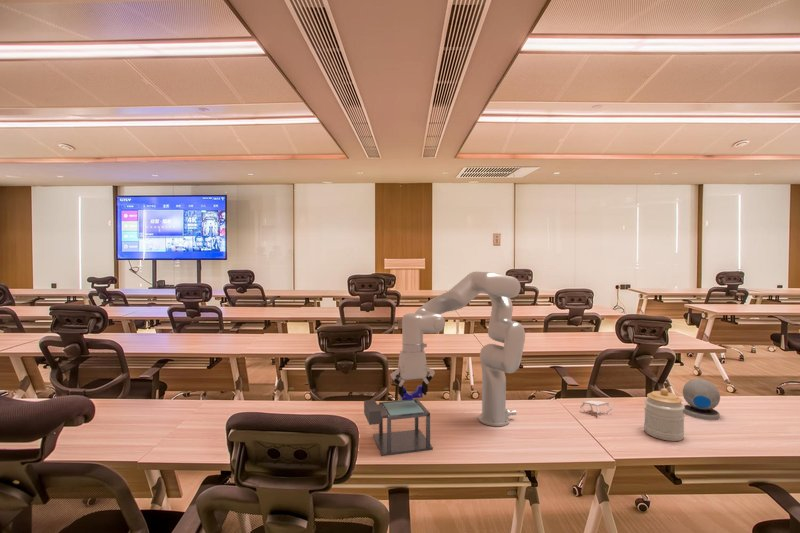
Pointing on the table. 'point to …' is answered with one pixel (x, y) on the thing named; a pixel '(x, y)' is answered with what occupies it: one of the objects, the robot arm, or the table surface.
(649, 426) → the jar
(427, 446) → the stand
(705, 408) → the webcam
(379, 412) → the trapdoor
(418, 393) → the cable holder
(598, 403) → the white legged frame
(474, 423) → the table surface
